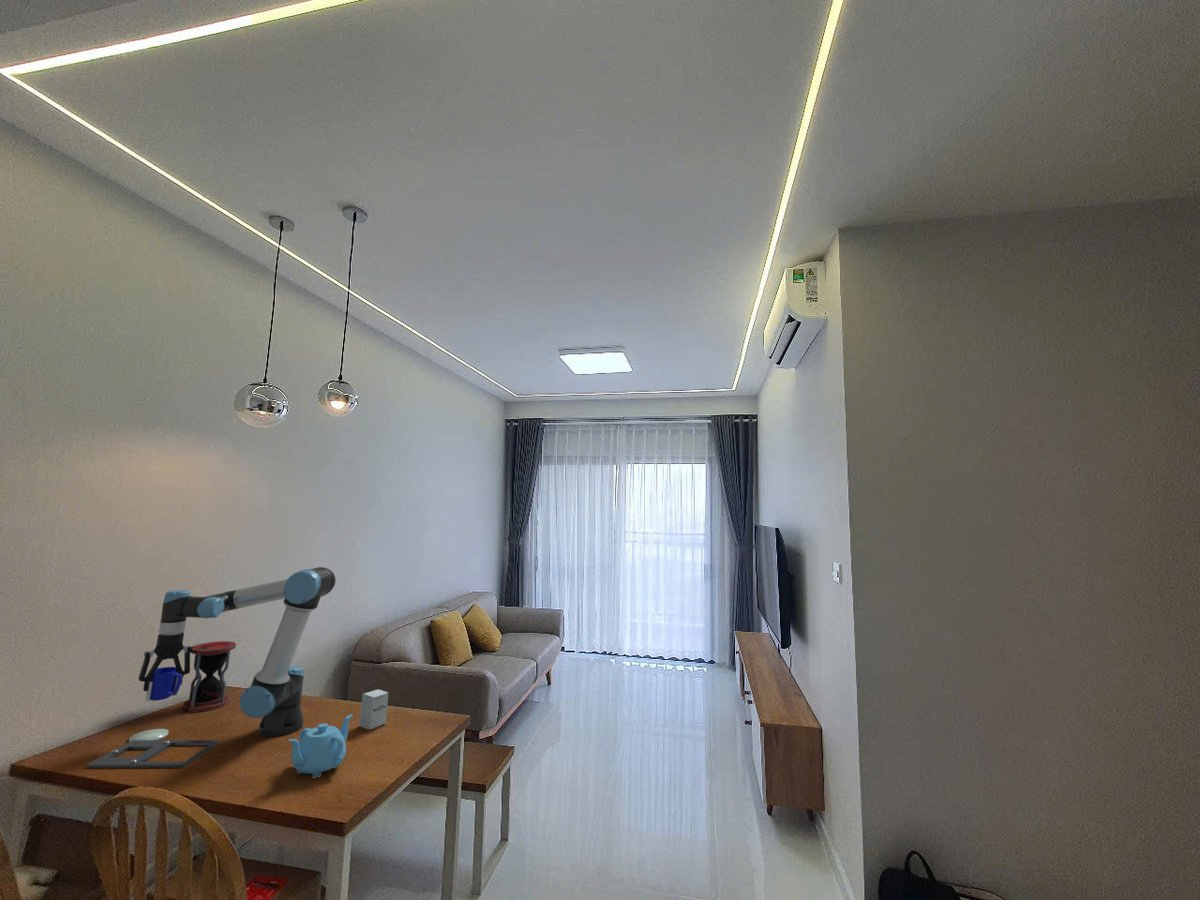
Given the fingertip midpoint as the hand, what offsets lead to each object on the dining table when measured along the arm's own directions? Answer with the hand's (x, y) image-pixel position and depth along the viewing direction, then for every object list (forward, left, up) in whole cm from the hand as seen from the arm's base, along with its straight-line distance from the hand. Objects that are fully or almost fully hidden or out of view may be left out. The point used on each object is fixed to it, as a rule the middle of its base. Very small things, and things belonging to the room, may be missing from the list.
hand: (161, 697), depth 185 cm
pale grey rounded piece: (+5, -4, -16) cm, 17 cm away
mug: (-1, -1, -1) cm, 1 cm away
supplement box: (-72, -15, -16) cm, 75 cm away
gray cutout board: (-8, +10, -16) cm, 20 cm away
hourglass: (+6, -36, -16) cm, 40 cm away
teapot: (-67, +20, -16) cm, 71 cm away
